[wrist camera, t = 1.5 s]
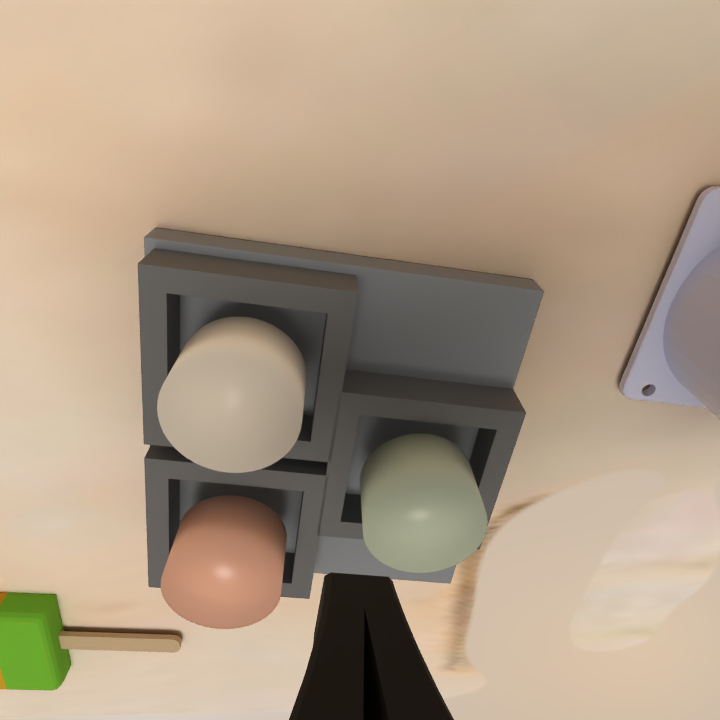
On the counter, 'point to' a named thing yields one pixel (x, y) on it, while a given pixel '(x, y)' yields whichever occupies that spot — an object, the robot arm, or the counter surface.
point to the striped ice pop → (54, 642)
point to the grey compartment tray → (334, 382)
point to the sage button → (420, 504)
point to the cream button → (234, 396)
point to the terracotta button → (226, 563)
